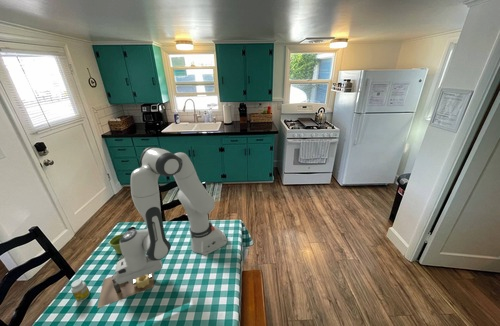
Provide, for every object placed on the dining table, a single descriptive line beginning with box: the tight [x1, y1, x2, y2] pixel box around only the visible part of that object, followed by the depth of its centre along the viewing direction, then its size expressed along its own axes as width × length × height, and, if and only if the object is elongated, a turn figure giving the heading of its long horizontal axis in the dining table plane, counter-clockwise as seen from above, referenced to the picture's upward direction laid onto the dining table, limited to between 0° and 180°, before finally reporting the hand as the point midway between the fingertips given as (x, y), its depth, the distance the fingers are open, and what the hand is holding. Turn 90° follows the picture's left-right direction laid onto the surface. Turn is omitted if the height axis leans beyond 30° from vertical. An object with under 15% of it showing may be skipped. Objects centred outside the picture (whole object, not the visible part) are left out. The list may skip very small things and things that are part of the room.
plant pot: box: [108, 233, 124, 255], centre depth 123 cm, size 9×9×9 cm
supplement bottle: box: [70, 278, 91, 302], centre depth 97 cm, size 5×5×10 cm
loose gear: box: [135, 274, 151, 288], centre depth 102 cm, size 6×6×3 cm
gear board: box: [97, 273, 155, 309], centre depth 102 cm, size 24×16×6 cm, turn 115°
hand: (143, 280), depth 103 cm, fingers closed on loose gear, 6 cm apart
